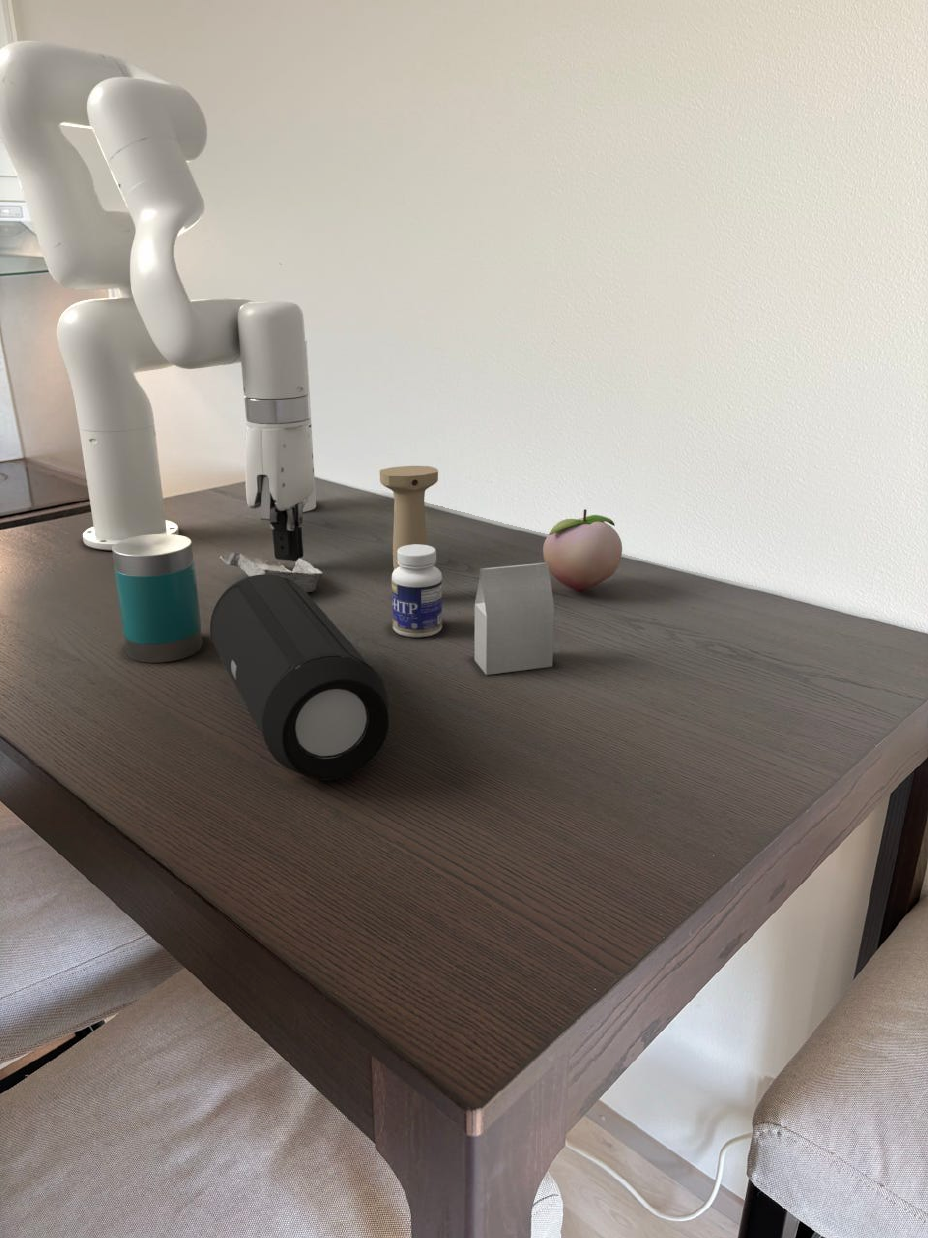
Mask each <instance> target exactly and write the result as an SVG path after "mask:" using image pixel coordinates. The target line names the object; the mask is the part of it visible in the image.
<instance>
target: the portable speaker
mask: <svg viewBox="0 0 928 1238" xmlns="http://www.w3.org/2000/svg"><path fill="white" fill-rule="evenodd" d="M209 623H210V624H209V633H210V639H211V642H212V645H213V647H214V649H215V651H216V652H217V654H218V656H219V657H220V659H221V661H222V662H223V665H224V666H225V669H226V671H227V672H228V674H229V676H230V678H231V679H232V682H233V683H234V685H235V687H236V689H237V691H238V693H239V695H240V697H241V698H242V700H243V702H244V704H245V706H246V708H247V710H248V711H249V714H250V715H251V717H252V720H253V721H254V723H255V725H256V727H257V729H258V731H259V733H260V734H261V736H262V738H263V740H264V743H265V745H266V747H267V750H268V752H270V754H271V756H272V757H273V758H274V759H275V761H277V763H279V764H280V765H281V766H283V767H285V768H286V769H288V770H290V771H292V772H295V773H297V774H300V775H303V776H305V777H308V778H311V779H315V780H319V781H320V780H321V781H333V780H339V779H343V778H346V777H349V776H352V775H353V774H355V773H357V772H358V771H361V769H363V768H365V767H366V766H367V765H369V764H370V763H371V761H372V760H374V758H375V757H376V756H378V754H379V752H380V751H381V749H382V748H383V746H384V743H385V742H386V738H387V736H388V732H389V725H390V712H389V711H390V710H389V709H390V708H389V697H388V693H387V692H388V691H387V690H386V687H385V685H384V682H383V680H382V678H381V677H380V676H379V674H378V673H377V672H376V670H375V669H374V668H373V667H372V666H371V665H370V663H369V662H368V661H367V660H366V658H364V656H362V654H361V653H360V652H359V650H358V649H357V648H356V647H355V646H354V645H353V644H352V643H351V642H350V641H349V639H348V638H347V637H346V636H345V635H344V634H343V633H342V631H341V630H340V629H339V628H338V627H337V625H335V624H334V622H333V621H332V620H331V619H330V618H329V617H328V615H327V614H326V613H325V611H323V610H322V609H321V608H320V606H319V605H318V604H317V603H316V602H315V601H314V599H312V597H311V595H309V594H308V592H305V591H304V589H302V588H301V587H300V586H299V585H297V584H296V583H295V582H293V581H291V580H289V579H288V578H285V577H281V576H278V575H272V574H261V575H254V576H250V577H249V576H247V577H243V578H241V579H239V580H237V581H236V582H234V583H232V584H231V585H230V586H228V587H227V588H226V590H225V591H223V593H222V594H221V596H220V597H219V598H218V600H217V601H216V604H215V606H214V607H213V610H212V613H211V616H210V622H209Z"/></svg>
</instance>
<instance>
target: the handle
mask: <svg viewBox="0 0 928 1238" xmlns="http://www.w3.org/2000/svg"><path fill="white" fill-rule="evenodd" d="M438 480H439V469H438V468H436V467H434V466H429V465H401V466H392V467H385V468H382V469H380V470H379V482H380V484H381V485H382V486H384V487H385V488H387V489H389V490H391V491H392V492H393V499H394V501H393V502H394V503H393V504H394V505H393V533H392V534H393V537H392V564H393V571H394V570H395V569H396V568H398V567H399V566H400V565H399V564H398V560H397V551H398V549H399V548H400V547H402V546H406V545H413V544H421V545H428V535H427V533H428V532H427V523H426V505H425V496H426V491H427V490H428V489H430V488H431V487H432V486H434V485H435V484H437V483H438Z"/></svg>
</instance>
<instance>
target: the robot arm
mask: <svg viewBox="0 0 928 1238" xmlns="http://www.w3.org/2000/svg"><path fill="white" fill-rule="evenodd" d="M62 126H68V127H75V128H83V129H91V130H92V132H93V134H94V136H95V139H96V140H97V144H98V146H99V148H100V150H101V153H102V155H103V158H104V159H105V161H106V164H107V166H108V168H109V170H110V173H111V175H112V177H113V180H114V182H115V184H116V186H117V188H118V190H119V194H120V195H121V197H122V199H123V202H124V204H125V206H126V208H127V210H128V211H117V210H107V209H105V208H104V207H103V205H102V203H101V201H100V199H99V195H98V193H97V190H96V186H95V183H94V180H93V179H94V178H93V176H92V173H91V171H90V169H89V166H88V164H87V163H86V162H85V160H84V157H83V156H82V155H81V154H80V152H79V151H78V150H77V148H76V146H74V144H73V143H72V142H71V141H70V140H69V139H68V137H66V136H65V134H64V133H63V132H62V130H61V128H62ZM207 140H208V126H207V121H206V118H205V115H204V112H203V110H202V108H201V106H200V104H199V103H198V102H197V100H196V98H195V97H193V96H192V94H191V93H190V92H188V91H187V90H186V89H185V88H183V87H182V86H180V85H178V84H175V83H174V82H171V81H170V80H167V79H165V78H163V77H161V76H158V75H157V74H154V73H152V72H150V71H148V70H146V69H144V68H142V67H140V66H139V65H136V64H135V63H132V62H129V61H127V60H125V59H122V58H120V57H117V56H113V55H109V54H106V53H101V52H96V51H91V50H86V49H81V48H77V47H73V46H69V45H64V44H59V43H55V42H49V41H40V40H28V39H27V40H17V41H13V42H11V43H7V44H5V45H4V46H3V47H1V48H0V143H1V145H2V147H3V149H4V152H5V154H6V155H7V158H8V159H9V162H10V164H11V166H12V168H13V170H14V172H15V175H16V178H17V181H18V182H19V186H20V189H21V191H22V194H23V198H24V201H25V205H26V208H27V212H28V214H29V217H30V220H31V224H32V227H33V230H34V232H35V235H36V238H37V241H38V245H39V248H40V251H41V254H42V257H43V260H44V262H45V265H46V267H47V269H48V272H49V274H50V275H51V277H52V279H53V280H54V281H55V282H56V283H57V284H59V286H62V287H64V288H68V289H70V290H80V291H95V290H97V291H98V290H111V289H112V290H113V289H114V290H116V289H117V291H118V293H119V296H120V297H107V298H104V297H103V298H92V299H86V300H82V301H78V302H76V303H74V304H71V305H70V306H69V307H68V308H66V309H65V310H64V311H63V312H62V314H60V317H59V319H58V322H57V326H56V340H57V345H58V350H59V352H60V356H61V359H62V361H63V364H64V367H65V370H66V373H67V376H68V379H69V382H70V387H71V391H72V395H73V400H74V405H75V413H76V419H77V424H78V429H79V436H80V443H81V449H82V450H81V451H82V457H83V463H84V470H85V476H86V478H85V479H86V484H87V490H88V497H89V498H88V499H89V504H90V510H91V511H90V512H91V519H92V525H93V526H91V527H89V528H87V529H86V530H85V531H84V532H83V533H82V541H83V543H84V545H86V546H87V547H89V548H91V549H96V550H100V551H112V547H113V546H114V545H115V544H116V543H118V542H119V541H122V540H125V539H128V538H131V537H136V536H141V535H149V534H175V535H180V532H179V526H178V524H177V523H174V522H173V521H171V520H167V519H166V511H165V503H164V494H163V486H162V477H161V470H160V460H159V451H158V443H157V437H156V436H157V435H156V429H155V427H156V426H155V420H154V412H153V407H152V404H151V401H150V399H149V396H148V394H147V393H146V391H145V389H144V388H143V386H142V385H141V384H140V381H139V380H138V379H137V377H136V375H135V374H137V373H141V372H148V371H154V370H162V369H166V368H167V369H168V368H171V367H173V366H175V367H177V368H179V369H180V368H181V369H185V370H195V369H204V368H210V367H217V366H226V365H233V364H240V366H241V376H242V386H243V389H242V390H243V396H244V399H243V400H244V409H245V419H246V420H245V422H246V426H247V427H246V428H245V429H246V431H245V442H244V478H245V481H244V482H245V497H246V504H247V507H249V509H251V510H252V509H253V510H256V509H258V508H260V522H262V523H269V528H270V530H272V540H273V541H272V542H273V553H274V558H275V560H278V561H288V562H296V561H297V560H298V559H299V558H300V559H302V558H303V557H304V541H303V531H302V530H303V529H302V525H303V521H304V512H303V507H304V506H305V505H306V503H307V502H308V497H309V496H310V495H311V494H312V493H313V492H314V488H315V489H316V479H315V478H316V477H315V476H316V475H315V461H314V462H313V460H314V451H313V452H312V445H311V438H310V432H309V426H308V424H309V423H310V408H311V406H310V407H309V392H308V376H307V361H306V346H305V340H306V334H305V333H306V332H305V318H304V313H303V310H302V308H301V306H299V304H297V303H294V302H290V301H274V300H273V301H271V300H270V301H254V300H250V299H245V298H240V297H239V298H237V297H228V298H226V297H225V298H206V299H205V298H204V299H190V297H189V294H188V292H187V291H186V288H185V286H184V283H183V282H182V279H181V277H180V274H179V271H178V267H177V263H176V257H175V255H176V254H175V250H176V249H175V246H176V243H177V239H178V237H179V236H181V235H182V234H183V233H185V232H187V231H189V230H190V229H191V228H193V227H194V226H196V224H197V223H198V222H199V221H200V220H201V218H202V217H203V215H204V214H205V213H204V212H205V201H204V198H203V196H202V193H201V192H200V188H199V187H198V185H197V183H196V180H195V178H194V176H193V173H192V172H191V169H190V167H189V165H188V163H190V162H193V161H195V160H197V159H198V158H199V157H200V156H201V155H202V153H203V151H204V149H205V147H206V146H207V145H206V144H207ZM275 503H276V504H275Z"/></svg>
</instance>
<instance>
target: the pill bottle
mask: <svg viewBox="0 0 928 1238" xmlns="http://www.w3.org/2000/svg"><path fill="white" fill-rule="evenodd" d="M397 560H398V564H399V565H400V566H399V567H398V568H396V569H395V570H394V569H393V571H392V574H391V606H392V607H391V608H392V610H391V611H392V629H393V631H395V633H396V634H398V635H400V636H402V637H407V638H427V637H431V636H434V635H436V634H438V633H440V632H441V630H442V628H443V574H442V572H441V570H440V569H439V568H438V567H436V566H435V564H436V563H437V551H436V548H435V547H434V546H432V545H429V544H427V545H421V544H413V545H406V546H402V547H400V548H399V549H398V551H397Z"/></svg>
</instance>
